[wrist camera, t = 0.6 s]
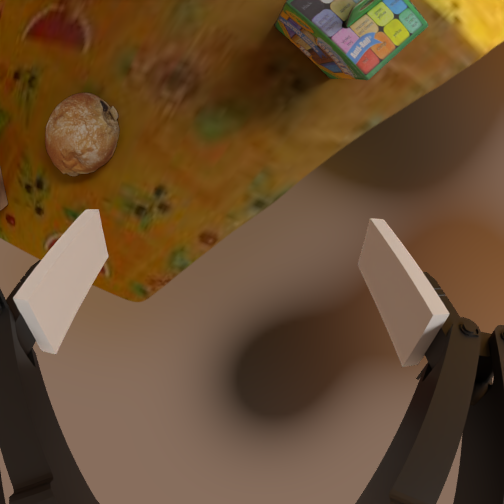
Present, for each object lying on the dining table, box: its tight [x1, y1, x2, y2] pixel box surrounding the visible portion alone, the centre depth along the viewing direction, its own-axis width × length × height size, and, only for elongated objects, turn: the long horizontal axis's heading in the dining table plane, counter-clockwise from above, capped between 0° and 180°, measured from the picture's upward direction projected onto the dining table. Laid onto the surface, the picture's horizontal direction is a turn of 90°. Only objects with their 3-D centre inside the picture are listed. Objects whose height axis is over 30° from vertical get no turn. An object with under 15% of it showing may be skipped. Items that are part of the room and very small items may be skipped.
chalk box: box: [274, 0, 428, 80], centre depth 20 cm, size 9×9×15 cm
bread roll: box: [45, 93, 119, 176], centre depth 30 cm, size 10×10×8 cm
